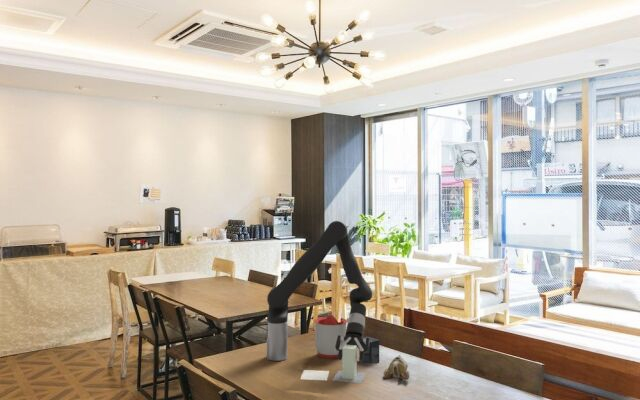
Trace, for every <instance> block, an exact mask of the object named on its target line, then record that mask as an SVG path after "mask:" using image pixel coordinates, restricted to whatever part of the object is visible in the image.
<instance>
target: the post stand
mask: <svg viewBox="0 0 640 400" xmlns="http://www.w3.org/2000/svg"><path fill="white" fill-rule="evenodd" d="M366 375H367V372H359V371H358V372H357V376H356V377H355V379H347V378H342V370H338V371H337V373H336V374H335V375H334V377H332V381H335V382H344V383H345V382H346V383H353V384H362V382H363V381H364V379H365V377H366Z"/></svg>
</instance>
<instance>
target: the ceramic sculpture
mask: <svg viewBox="0 0 640 400" xmlns="http://www.w3.org/2000/svg"><path fill="white" fill-rule="evenodd" d="M408 367H409V366H408V364H407V362H406V360H405V359H404V358H403V357H402V355H400V354H399V355H397V356H395V357H394V358H393V359H392V360H391V361H390V363H389V365H388V367H387V368H386V369H385V370H384V371H383V378H384V379H390V378H398V379H402V380H404V381H408V380H409V378H410V372H409V371H408V370H407V369H408Z"/></svg>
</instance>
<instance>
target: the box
mask: <svg viewBox="0 0 640 400" xmlns="http://www.w3.org/2000/svg"><path fill="white" fill-rule="evenodd" d="M366 338H369V341H370V344H369V353H365V354H364V358H363V361H361V363H370V364H379V363H380V339H377V338H374V337H370V336H363V339H366ZM361 346H362V348H363V349H365V347H366V344H365V343H364V342H363V343H362V344H361ZM358 351H359V352H358V353H359V354H358V355H359V356H360V352H361V351H360V350H359V349H358Z"/></svg>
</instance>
